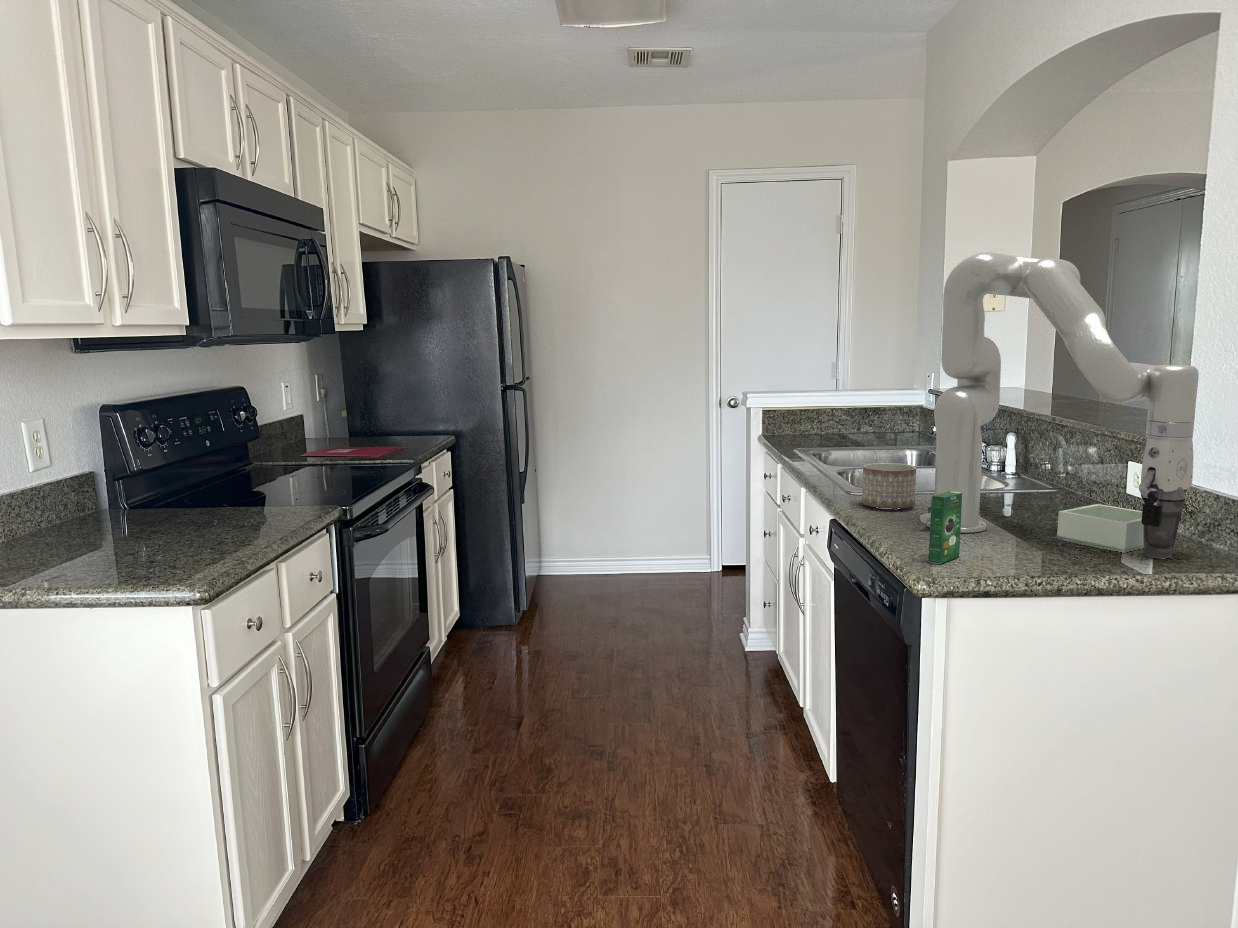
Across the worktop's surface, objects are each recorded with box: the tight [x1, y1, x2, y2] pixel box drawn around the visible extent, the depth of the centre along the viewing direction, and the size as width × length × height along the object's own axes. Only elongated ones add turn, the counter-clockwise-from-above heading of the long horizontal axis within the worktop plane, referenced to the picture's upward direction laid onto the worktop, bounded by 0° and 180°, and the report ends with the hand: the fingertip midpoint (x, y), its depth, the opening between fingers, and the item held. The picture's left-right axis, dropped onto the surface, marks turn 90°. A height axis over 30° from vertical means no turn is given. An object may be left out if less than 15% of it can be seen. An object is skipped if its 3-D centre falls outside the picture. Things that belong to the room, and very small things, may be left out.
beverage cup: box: [1141, 486, 1186, 559], centre depth 164 cm, size 7×7×20 cm
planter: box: [861, 462, 917, 509], centre depth 215 cm, size 13×13×10 cm
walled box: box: [1056, 503, 1144, 554], centre depth 177 cm, size 14×14×6 cm
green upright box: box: [927, 491, 962, 565], centre depth 164 cm, size 8×3×13 cm, turn 134°
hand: (1161, 522), depth 165 cm, fingers closed on beverage cup, 6 cm apart
